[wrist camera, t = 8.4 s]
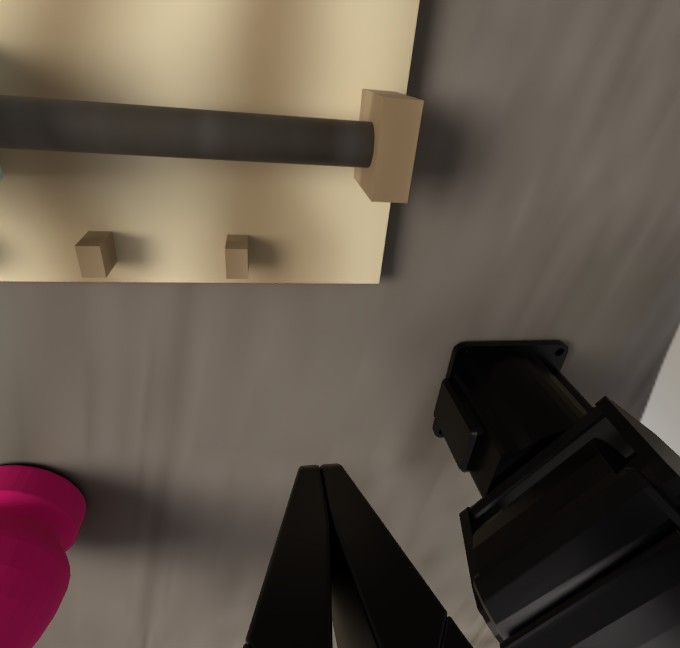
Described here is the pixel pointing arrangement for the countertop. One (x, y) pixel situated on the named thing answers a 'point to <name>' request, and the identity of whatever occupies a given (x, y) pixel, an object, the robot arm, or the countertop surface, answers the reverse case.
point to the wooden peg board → (203, 138)
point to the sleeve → (0, 174)
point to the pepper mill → (34, 549)
